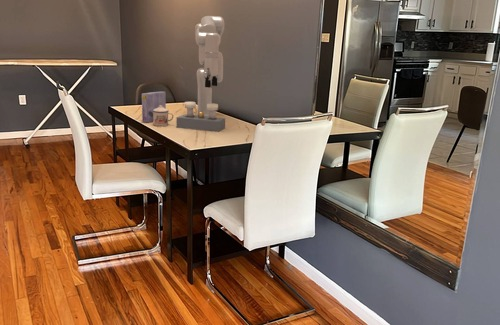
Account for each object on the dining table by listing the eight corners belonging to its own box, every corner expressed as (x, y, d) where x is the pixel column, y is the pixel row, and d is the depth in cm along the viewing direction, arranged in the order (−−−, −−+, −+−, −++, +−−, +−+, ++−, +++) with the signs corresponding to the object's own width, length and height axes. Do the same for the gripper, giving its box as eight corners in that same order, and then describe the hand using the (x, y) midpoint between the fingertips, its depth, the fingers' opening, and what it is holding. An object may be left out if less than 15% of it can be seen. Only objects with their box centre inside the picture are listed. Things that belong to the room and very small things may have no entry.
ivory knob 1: (187, 116, 276) (187, 101, 274) (197, 117, 274) (197, 102, 272) (182, 117, 270) (182, 102, 268) (192, 118, 268) (193, 103, 266)
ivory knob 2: (209, 118, 272) (209, 103, 270) (219, 119, 271) (219, 104, 268) (205, 120, 266) (205, 104, 264) (215, 121, 265) (215, 105, 262)
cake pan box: (161, 118, 297) (160, 90, 292) (167, 118, 295) (167, 91, 290) (141, 122, 280) (140, 93, 275) (147, 123, 278) (147, 94, 273)
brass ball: (199, 117, 272) (199, 111, 271) (205, 117, 271) (205, 111, 270) (197, 117, 269) (197, 112, 268) (202, 118, 268) (202, 112, 267)
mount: (185, 123, 281) (185, 114, 279) (225, 128, 274) (225, 118, 272) (176, 127, 270) (176, 117, 268) (218, 131, 263) (218, 121, 261)
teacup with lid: (153, 126, 269) (153, 106, 266) (152, 123, 278) (152, 104, 275) (174, 126, 273) (174, 106, 269) (172, 123, 281) (172, 104, 278)
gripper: (211, 55, 268) (211, 84, 272) (199, 56, 252) (198, 87, 256) (223, 55, 266) (222, 85, 270) (211, 56, 250) (211, 88, 254)
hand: (211, 86), depth 263 cm, fingers open, 9 cm apart
